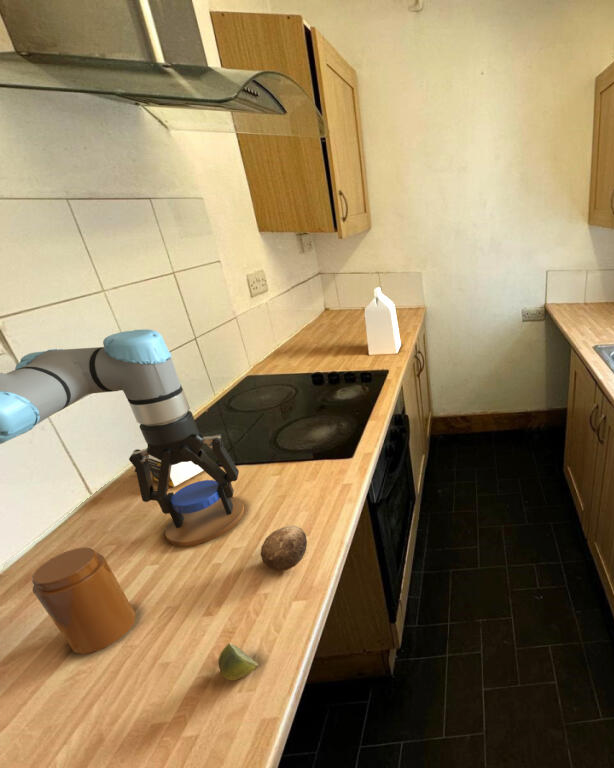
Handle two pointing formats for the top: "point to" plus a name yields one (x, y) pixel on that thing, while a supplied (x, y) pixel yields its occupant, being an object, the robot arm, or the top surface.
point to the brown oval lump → (284, 548)
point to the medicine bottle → (174, 471)
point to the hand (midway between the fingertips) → (205, 516)
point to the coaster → (205, 524)
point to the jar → (83, 599)
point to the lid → (195, 496)
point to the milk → (382, 325)
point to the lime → (235, 663)
